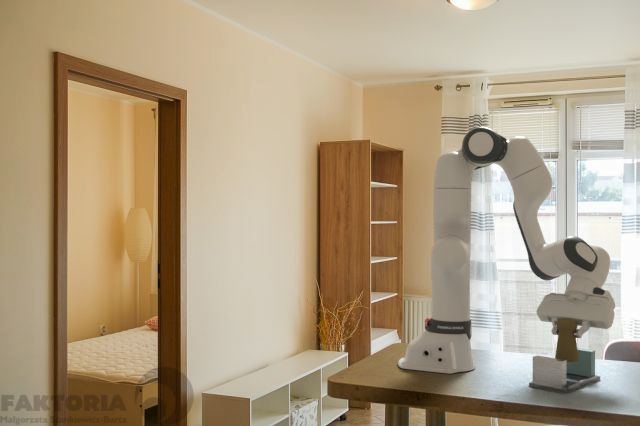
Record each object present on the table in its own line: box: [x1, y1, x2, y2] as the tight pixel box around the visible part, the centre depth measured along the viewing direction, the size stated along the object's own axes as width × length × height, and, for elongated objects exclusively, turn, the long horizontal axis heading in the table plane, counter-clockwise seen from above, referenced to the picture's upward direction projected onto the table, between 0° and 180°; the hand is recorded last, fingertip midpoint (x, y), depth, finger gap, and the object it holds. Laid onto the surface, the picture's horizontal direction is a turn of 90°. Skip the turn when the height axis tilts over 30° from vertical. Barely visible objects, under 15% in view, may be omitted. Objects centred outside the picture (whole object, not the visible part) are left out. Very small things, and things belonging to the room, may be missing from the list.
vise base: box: [528, 355, 601, 395], centre depth 177 cm, size 21×10×8 cm, turn 135°
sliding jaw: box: [566, 347, 596, 377], centre depth 183 cm, size 2×8×7 cm, turn 44°
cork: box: [554, 319, 579, 362], centre depth 178 cm, size 6×6×11 cm
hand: (565, 335), depth 177 cm, fingers closed on cork, 5 cm apart
